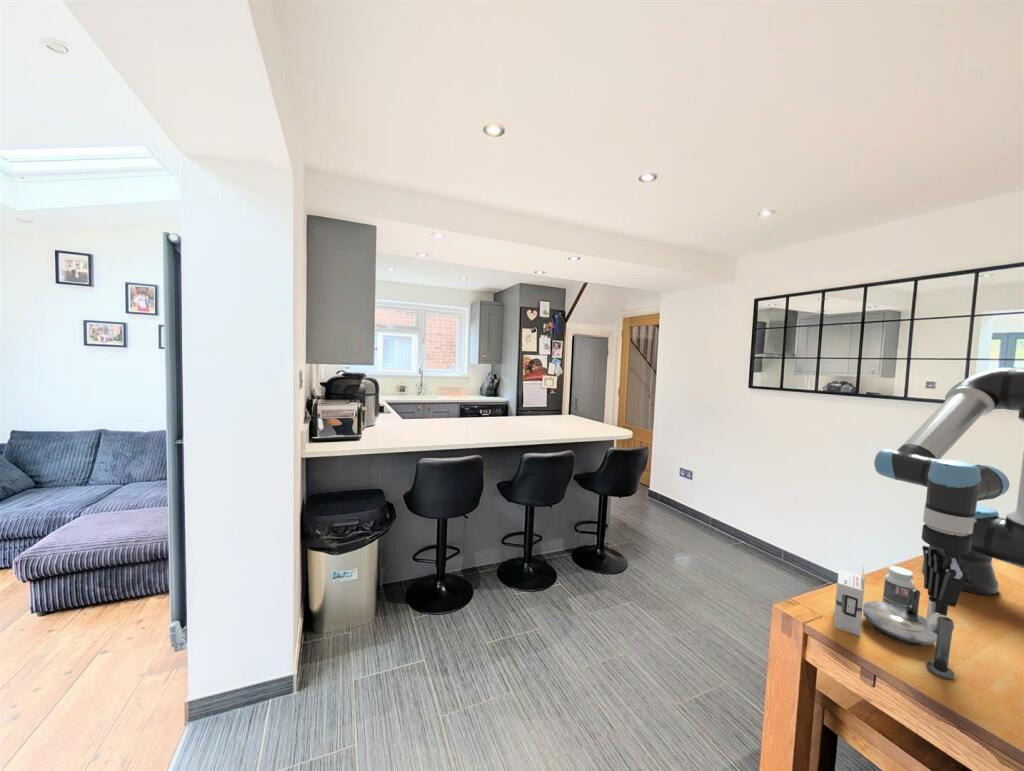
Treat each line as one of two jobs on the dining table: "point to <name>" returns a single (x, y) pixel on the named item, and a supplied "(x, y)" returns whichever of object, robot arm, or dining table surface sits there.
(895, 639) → the turntable base
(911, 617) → the silver round piece
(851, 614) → the ink box
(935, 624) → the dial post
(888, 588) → the pill bottle
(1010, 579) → the dining table surface
